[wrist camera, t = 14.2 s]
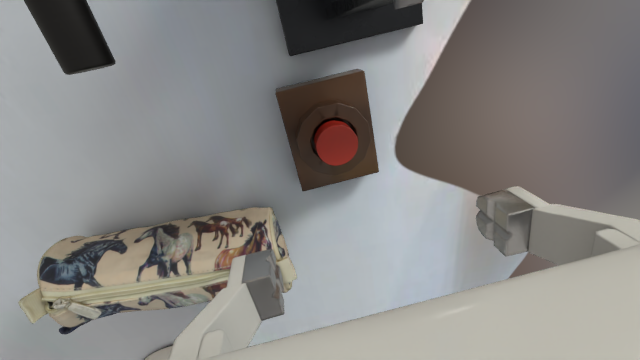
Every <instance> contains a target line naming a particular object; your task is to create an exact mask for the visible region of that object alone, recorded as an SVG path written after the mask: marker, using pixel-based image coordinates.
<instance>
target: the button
mask: <svg viewBox="0 0 640 360" xmlns="http://www.w3.org/2000/svg"><path fill="white" fill-rule="evenodd" d="M314 144H315V148H316V151H317V153H318V155H319V157H320V158H321V160H322V161H324V162H325V163H327V164H329V165H335V166H336V165H342V164H345V163H347V162H349V161H350V160H351V159H352V158H353V157H354V155H355V154H356V152H357V149H358V139H357V136H356V134H355V133H354V131H353V130H352V129H351V128H350V127H349V126H348V125H347V124H346V123H344V122H342V121H338V120H332V121H328V122H326V123H324V124H323V125H321V126H320V127H319V129H318V130H317V132H316V134H315V137H314Z"/></svg>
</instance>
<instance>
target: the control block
mask: <svg viewBox="0 0 640 360" xmlns="http://www.w3.org/2000/svg"><path fill="white" fill-rule="evenodd" d="M276 97H277V100H278V104H279V108H280V111H281V115H282V118H283V122H284V126H285V129H286V133H287V137H288V140H289V144H290V147H291V151H292V155H293V158H294V162H295V166H296V169H297V173H298V177H299V180H300V184H301V187H302V191H307V190H311V189H314V188H318V187H322V186H326V185H330V184H334V183H338V182H342V181H346V180H350V179H353V178H357V177H361V176H365V175H369V174H373V173H377V172H379V169H378V162H377V155H376V148H375V142H374V135H373V128H372V121H371V114H370V107H369V101H368V94H367V87H366V80H365V73H364V71H363V70H360V69H355V70H351V71H347V72H343V73H338V74H334V75H330V76H326V77H322V78H318V79H314V80H310V81H306V82H302V83H298V84H294V85H290V86H286V87H282V88H278V89H276ZM332 120H338V121H342V122H344V123H346V124H347V125H348V126H349V127H350V128H351V129H352V130H353V131H354V133H355V134H356V136H357V139H358V149H357V152H356V154H355V155H354V157H353V158H352V159H351V160H350V161H349V162H347V163H345V164H342V165H336V166H335V165H329V164H327V163H325V162H324V161H322V160H321V158H320V157H319V155H318V153H317V151H316V148H315V144H314V137H315V134H316V132H317V130H318V129H319V127H320V126H321V125H323V124H324V123H326V122H328V121H332Z"/></svg>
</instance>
